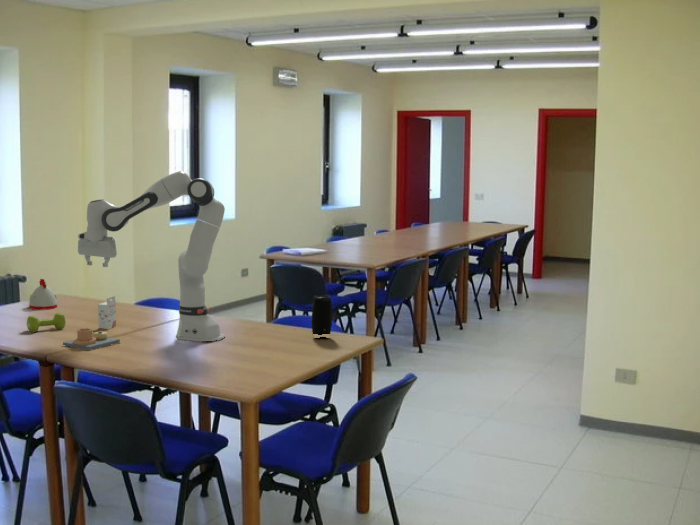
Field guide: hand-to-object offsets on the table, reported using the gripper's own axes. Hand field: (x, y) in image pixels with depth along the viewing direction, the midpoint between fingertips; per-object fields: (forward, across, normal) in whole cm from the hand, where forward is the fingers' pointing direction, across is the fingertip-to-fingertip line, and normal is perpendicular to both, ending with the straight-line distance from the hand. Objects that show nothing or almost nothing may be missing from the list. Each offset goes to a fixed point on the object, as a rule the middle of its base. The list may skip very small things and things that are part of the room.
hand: (97, 266), depth 370 cm
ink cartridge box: (+31, +6, -12) cm, 34 cm away
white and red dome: (+31, +69, -32) cm, 82 cm away
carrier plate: (+31, -14, +18) cm, 38 cm away
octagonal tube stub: (+29, -14, +22) cm, 39 cm away
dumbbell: (+31, +24, +8) cm, 40 cm away
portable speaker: (+31, -88, -52) cm, 107 cm away
